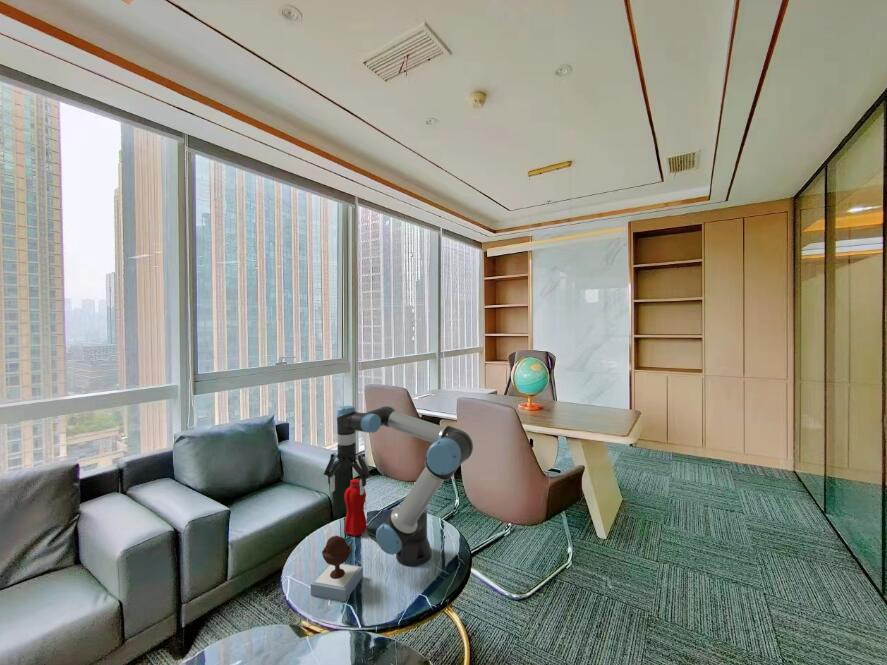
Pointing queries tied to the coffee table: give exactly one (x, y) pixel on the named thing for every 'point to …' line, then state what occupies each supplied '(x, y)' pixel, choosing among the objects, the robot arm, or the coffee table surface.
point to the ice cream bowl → (336, 554)
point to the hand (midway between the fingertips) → (347, 492)
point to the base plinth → (337, 582)
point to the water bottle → (355, 509)
